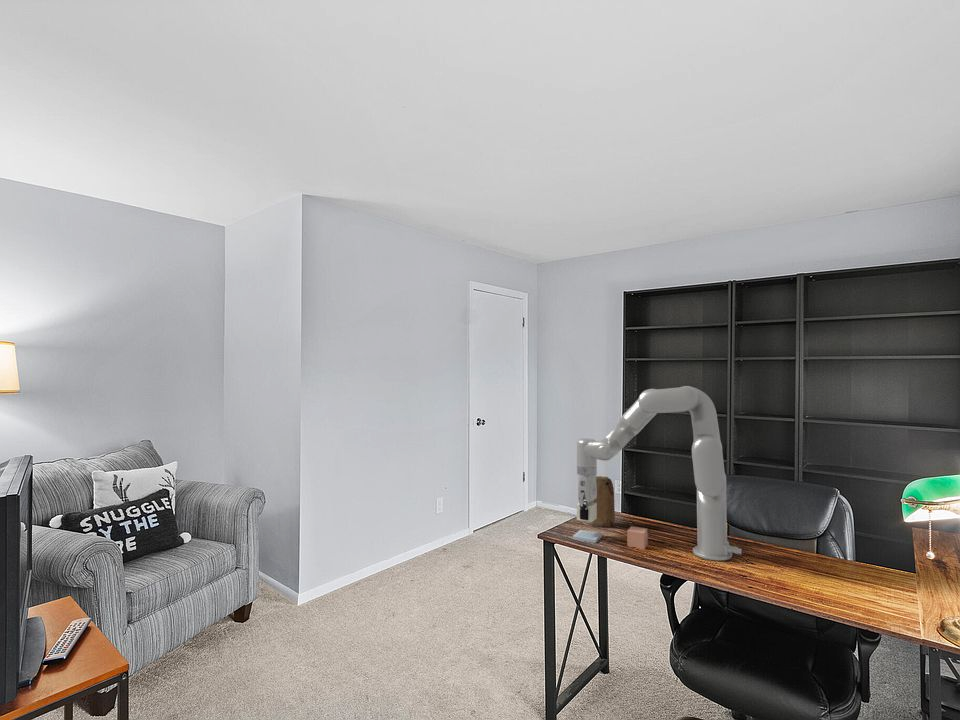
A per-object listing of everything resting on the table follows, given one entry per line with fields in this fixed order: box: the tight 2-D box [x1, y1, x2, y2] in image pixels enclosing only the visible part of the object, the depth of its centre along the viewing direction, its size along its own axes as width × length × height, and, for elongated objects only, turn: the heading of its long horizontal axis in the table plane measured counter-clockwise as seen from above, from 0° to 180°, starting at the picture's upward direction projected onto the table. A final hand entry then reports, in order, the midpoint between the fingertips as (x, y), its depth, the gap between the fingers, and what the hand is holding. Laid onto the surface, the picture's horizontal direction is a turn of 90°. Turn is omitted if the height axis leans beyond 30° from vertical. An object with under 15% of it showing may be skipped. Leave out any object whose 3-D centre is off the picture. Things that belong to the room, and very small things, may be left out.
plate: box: [572, 529, 603, 544], centre depth 200 cm, size 9×9×1 cm
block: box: [589, 475, 616, 528], centre depth 217 cm, size 11×8×20 cm
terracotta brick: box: [626, 526, 649, 550], centre depth 191 cm, size 6×6×6 cm
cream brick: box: [576, 502, 597, 523], centre depth 200 cm, size 6×6×6 cm
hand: (586, 516), depth 200 cm, fingers closed on cream brick, 6 cm apart
